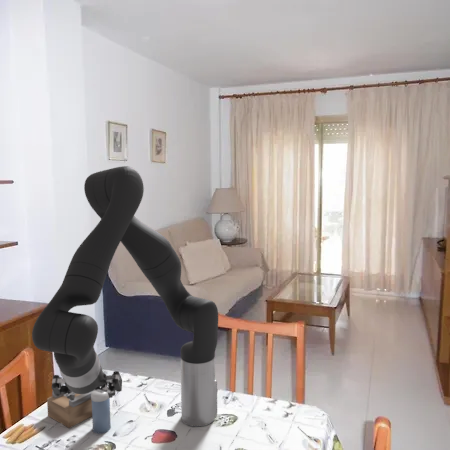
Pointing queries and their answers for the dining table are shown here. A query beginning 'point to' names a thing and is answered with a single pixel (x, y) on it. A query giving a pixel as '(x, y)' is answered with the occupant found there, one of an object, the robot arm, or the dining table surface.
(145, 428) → the dining table surface
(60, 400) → the display plinth
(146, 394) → the dining table surface
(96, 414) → the ball-topped blue cylinder
